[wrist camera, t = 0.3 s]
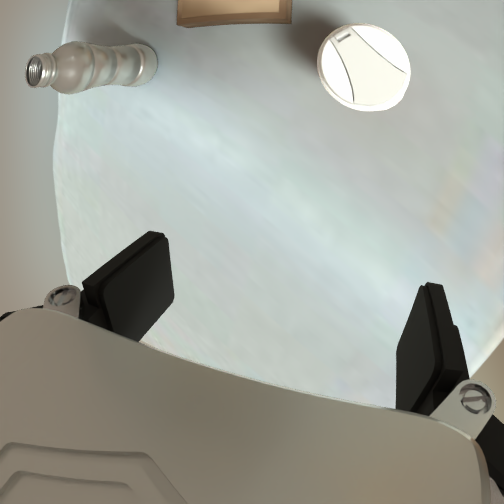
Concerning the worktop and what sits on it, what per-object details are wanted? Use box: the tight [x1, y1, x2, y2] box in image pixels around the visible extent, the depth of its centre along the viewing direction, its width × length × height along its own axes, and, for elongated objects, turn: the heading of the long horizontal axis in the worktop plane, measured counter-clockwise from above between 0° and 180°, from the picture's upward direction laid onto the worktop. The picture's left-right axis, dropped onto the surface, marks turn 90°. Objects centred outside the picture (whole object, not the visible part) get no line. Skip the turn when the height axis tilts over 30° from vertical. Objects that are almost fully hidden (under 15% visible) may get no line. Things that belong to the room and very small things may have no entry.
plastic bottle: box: [25, 41, 158, 95], centre depth 31 cm, size 6×7×20 cm
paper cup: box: [317, 23, 410, 111], centre depth 26 cm, size 8×8×14 cm
